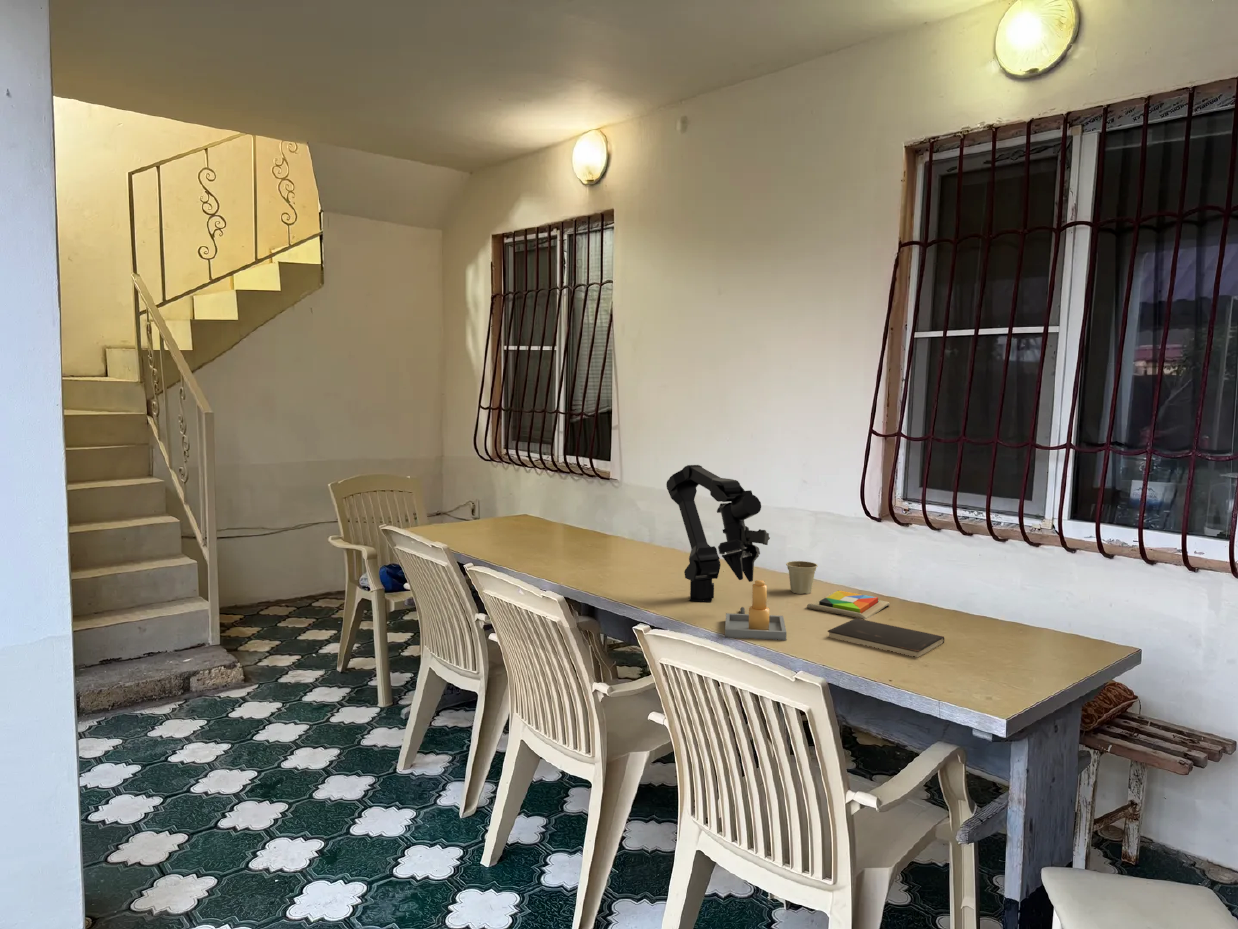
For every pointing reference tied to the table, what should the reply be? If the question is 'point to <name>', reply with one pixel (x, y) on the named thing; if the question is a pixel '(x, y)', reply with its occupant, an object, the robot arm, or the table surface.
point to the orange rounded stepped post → (759, 607)
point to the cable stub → (742, 610)
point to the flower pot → (801, 576)
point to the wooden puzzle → (849, 604)
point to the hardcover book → (886, 637)
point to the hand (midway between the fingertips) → (746, 580)
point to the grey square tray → (739, 629)
